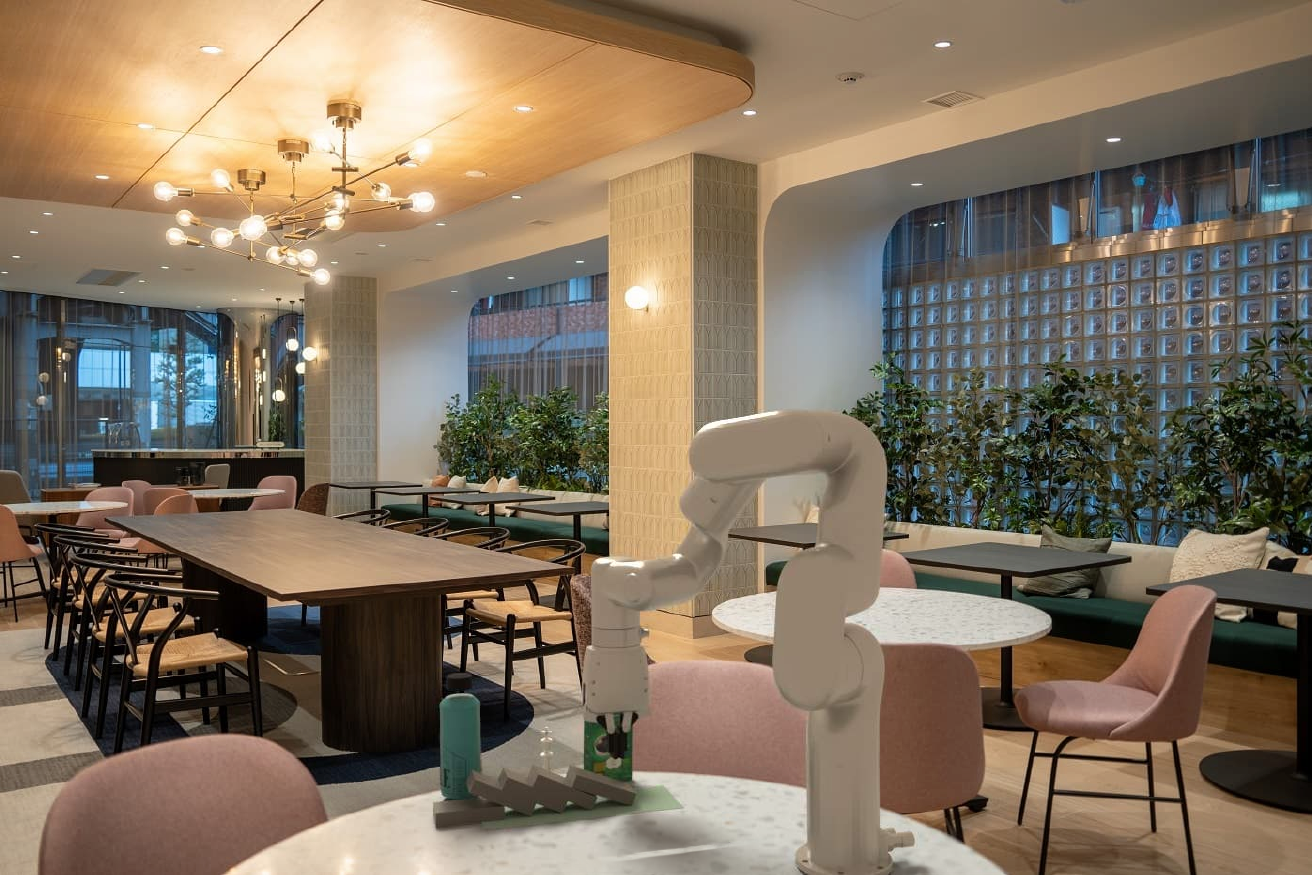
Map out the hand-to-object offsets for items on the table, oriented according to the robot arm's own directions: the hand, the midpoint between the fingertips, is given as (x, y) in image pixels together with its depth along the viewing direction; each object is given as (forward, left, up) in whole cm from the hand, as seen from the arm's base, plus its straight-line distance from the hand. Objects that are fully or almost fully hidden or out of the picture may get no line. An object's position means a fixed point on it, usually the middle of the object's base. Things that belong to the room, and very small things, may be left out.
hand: (617, 756), depth 160 cm
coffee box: (-1, -10, -8) cm, 13 cm away
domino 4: (+4, 0, -6) cm, 7 cm away
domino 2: (+13, 0, -6) cm, 15 cm away
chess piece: (+9, -11, -8) cm, 16 cm away
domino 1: (+18, 0, -6) cm, 19 cm away
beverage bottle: (+23, -9, -8) cm, 26 cm away
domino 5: (-2, 0, -6) cm, 6 cm away
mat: (+6, 0, -8) cm, 10 cm away
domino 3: (+9, 0, -6) cm, 11 cm away
